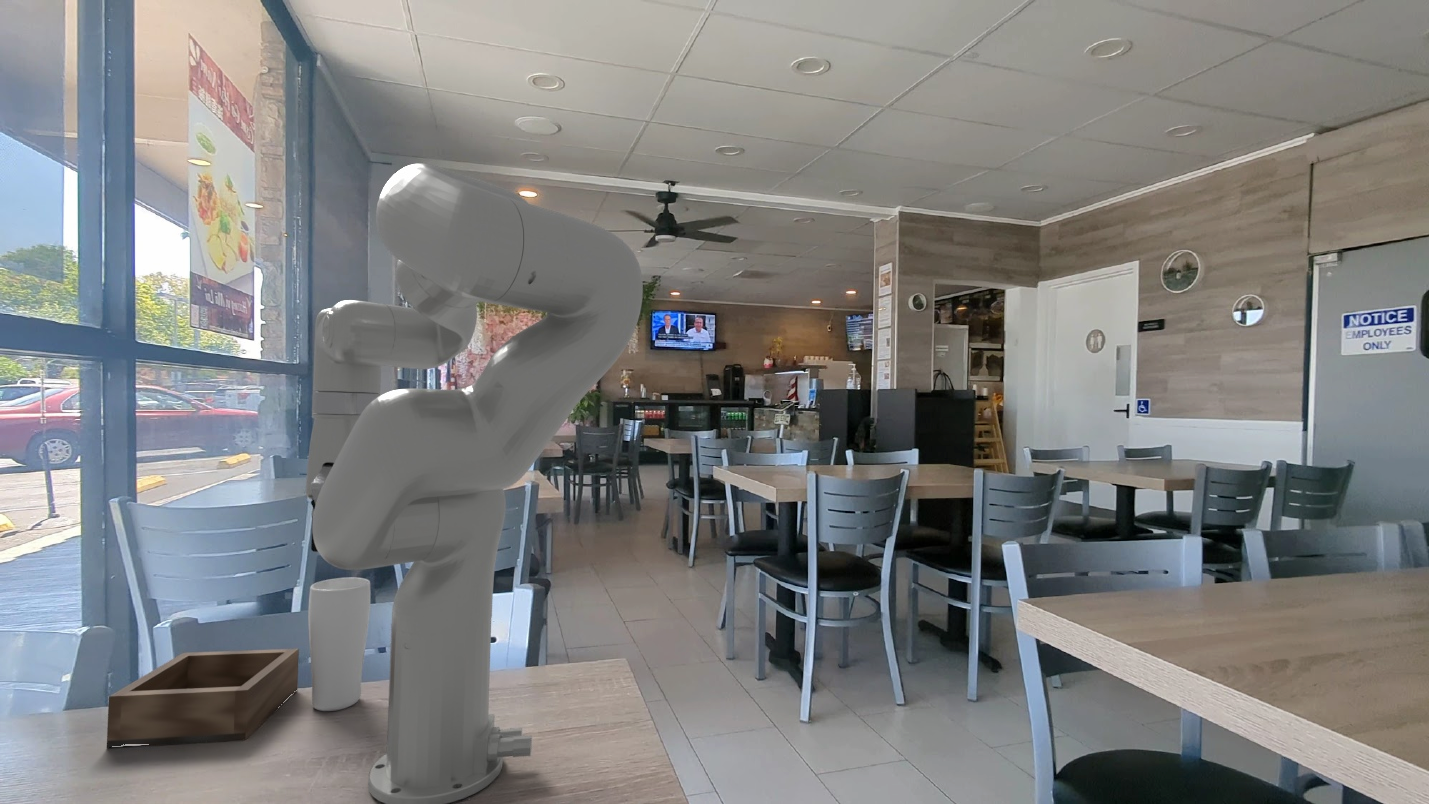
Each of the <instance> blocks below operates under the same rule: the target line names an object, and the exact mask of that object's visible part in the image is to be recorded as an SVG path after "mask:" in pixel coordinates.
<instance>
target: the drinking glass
mask: <svg viewBox="0 0 1429 804" xmlns="http://www.w3.org/2000/svg"><path fill="white" fill-rule="evenodd" d="M308 597H309V598H308V613H307V615H308V617H307V619H308V620H307V621H308V636H309V637H308V638H309V639H308V640H309V653H310V654H309V655H310V656H309V657H310V671H311V705H312V707H313V708H314V709H315V710H317V711H320V712H321V711H322V712H335V711H341V710H343V709H347V708H349V707H351V706H354V705H355V704H356V703H358V701H359V700H360V697H361V695H362V693H361V692H362V678H363V677H362V676H363V668H364V661H365V655H366V654H365V652H366V646H367V645H366V644H367V639H368V638H367V637H368V629H369V622H370V612H371V581H370V580H369V579H367V578H363V577H338V578H330V579H326V580H325V579H324V580H321V581H317V582H315V583H312V584H311V585H310V587H309V596H308Z"/></svg>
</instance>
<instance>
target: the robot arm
mask: <svg viewBox="0 0 1429 804" xmlns="http://www.w3.org/2000/svg"><path fill="white" fill-rule="evenodd" d="M375 222H376V229H377V234H378V237H379V238H380V241H381V243H382V244H383V245H384V247H385V248H386V250H388V252H389V253H391V255H392V256H393V257H394V258H396V259H397V264H396V267H395V278H396V284H397V286H398V289H399V292H400V293H401V295H402V296H403V298H404V299H405V300H406V302H407V303H408V304H409V305H410V306H411V307H408V306H400V305H395V304H389V303H378V302H377V303H376V302H370V301H365V300H363V301H362V300H355V299H354V300H353V299H349V300H341V301H339V302H337V303H335V304H334V305H333V306H332V307H330V308H326V309H322V310H321V311H320V312H319V313H318V314H317V316H316V319H315V325H314V326H315V327H314V328H315V329H314V352H313V354H314V357H313V382H312V383H313V384H312V400H311V401H312V404H311V406H312V408H311V418H312V419H314V421H313V426H312V428H311V429H312V430H311V436H310V440H309V441H310V442H309V448H308V450H309V451H308V458H307V466H306V467H307V468H306V480H305V495H306V497H307V498H308V499H309V500H311V501H310V505H311V506H312V509H311V514H310V515H311V519H312V521H311V541H310V542H311V545H310V550H311V551H312V552H315V553H316V552H318V554H319V555H320V556H321V557H322V558H323V560H324V561H326V562H327V563H328V564H329V565H331V566H333V567H336V568H337V569H341V570H347V571H359V570H367V569H368V570H369V569H375V568H384V567H390V566H395V565H400V564H401V565H402V564H409V563H412V564H411V566H410V568H409V569H408V571H407V572H406V574H405V576H404V577H403V579H402V581H401V582H400V583H399V586H398V588H397V591H396V594H395V597H394V599H393V604H392V610H391V611H392V612H391V624H390V625H391V627H390V628H391V629H390V651H389V652H390V656H389V679H388V680H389V683H388V684H389V686H388V707H387V709H388V710H387V711H388V712H387V713H388V714H387V736H386V738H387V741H386V753H385V754H384V755H383V756H382V757H380V758H379V759H378V760H377V761H376V762H375V763H374V764H373V765H371V766H372V767H371V768H370V771H369V773H368V781H367V784H368V785H367V786H368V791H369V793H370V794H371V796H372V797H373V799H376V800H377V801H378V802H381V803H382V804H450V803H451V804H452V803H455V802H456V801H460V800H464V799H466V798H468V797H470V796H473V795H475V794H477V793H478V792H480V791H481V790H483V789H485V788H486V787H488V785H490V784H491V783H492V782H494V780H495V779H496V778H498V776H499V775H500V773H501V770H502V768H503V763H504V761H503V758H506V757H508V758H509V757H512V758H519V757H520V758H521V757H523V758H524V757H531V756H532V750H533V749H532V748H533V747H532V745H533V735H532V734H531V735H523V727H514V728H512V727H511V728H507V729H501V728H500V726H495V716H496V715H495V714H494V713H493V714H492V713H491V714H489V707H490V675H491V674H490V672H491V645H492V642H491V641H492V640H491V639H492V619H493V618H492V617H493V600H494V599H493V598H494V597H493V595H494V582H495V581H494V578H495V570H496V562H497V555H498V550H499V549H498V548H499V545H500V540H501V537H502V532H503V529H504V528H503V527H504V523H505V517H506V508H507V507H506V505H507V504H506V503H507V500H506V495H505V490H504V489H507V488H510V487H512V486H514V484H516V483H518V482H519V481H520V480H521V479H522V478H523V477H524V476H525V475H526V473H527V472H528V471H529V470H530V469H531V468H532V466H533V465H534V463H535V462H536V461H537V460H538V458H539V457H540V455H541V454H542V453H543V451H544V450H545V449H546V447H548V445H549V443H550V442H551V441H552V439H553V438H554V437H555V436H556V434H557V433H558V432H559V430H560V429H561V427H562V426H563V424H564V423H565V422H566V421H567V419H568V418H569V416H570V415H571V413H572V412H573V410H574V409H575V408H576V406H577V405H578V404H579V403H580V402H581V400H582V399H583V398H584V397H585V396H586V395H587V394H588V393H589V392H590V390H592V388H593V387H594V386H595V385H596V384H597V382H599V381H600V380H601V378H603V377H604V376H605V375H606V374H607V372H608V371H609V370H610V369H611V368H612V367H613V365H615V363H616V362H617V360H618V359H619V358H620V357H621V355H622V354H623V352H624V350H625V349H626V348H627V346H628V344H629V342H630V341H631V339H632V337H633V335H634V333H635V331H636V328H637V324H638V321H639V317H640V315H641V310H642V304H643V294H644V293H643V292H644V290H643V289H644V287H643V285H644V284H643V276H642V270H641V266H640V263H639V261H638V259H637V256H636V255H635V253H634V251H633V250H632V249H631V248H630V246H629V245H628V244H627V243H626V242H625V241H624V240H622V239H621V238H620V237H619V236H617V235H616V234H615V233H613V232H611V231H610V230H609V231H608V230H607V229H605V228H603V227H602V226H600V225H598V224H594V223H591V222H589V221H586V220H584V219H581V218H577V217H574V216H572V215H568V214H565V213H561V212H558V211H554V210H550V209H547V208H543V207H540V206H536V205H534V204H530V202H528V201H527V200H525V198H523V197H522V196H520V195H519V194H517V193H515V192H514V191H512V190H510V189H507V188H504V187H502V186H500V185H497V184H494V183H492V182H488V181H484V180H482V179H478V178H475V177H472V176H469V175H466V174H463V173H459V172H456V171H453V170H450V169H448V168H443V167H440V166H437V165H433V164H429V163H413V164H409V165H407V166H404V167H403V168H401V169H399V170H398V171H397V172H396V173H394V174H393V175H392V176H391V177H390V178H389V180H388V181H387V182H386V183H385V185H384V187H383V188H382V191H381V193H380V195H379V199H378V201H377V205H376V213H375ZM480 302H481V303H484V304H485V303H487V304H493V305H498V306H505V307H511V308H517V309H522V310H528V311H535V312H541V313H546V314H545V316H544V317H543V318H542V319H540V320H539V321H537V322H534V323H533V324H531V325H530V326H528V327H526V328H525V329H522V330H520V332H518V333H517V334H515V335H513V336H512V337H510V338H509V339H508V340H507V341H506V342H505V343H504V344H502V345H501V346H500V347H499V348H498V349H497V350H496V351H495V352H494V353H493V355H492V356H491V357H490V359H489V360H488V362H487V363H486V365H485V367H484V369H483V370H482V372H481V373H480V375H479V376H478V378H477V379H476V380H475V381H474V382H473V383H472V384H471V385H469V386H466V387H463V388H456V389H444V388H443V389H442V388H441V389H440V388H400V389H394V390H390V391H387V392H384V393H383V394H381V387H382V386H381V383H382V379H381V378H382V367H389V368H390V367H391V368H402V369H411V370H412V369H413V370H430V369H435V368H439V367H441V366H443V365H445V364H447V363H448V362H449V361H451V360H452V359H454V358H456V357H457V356H458V355H460V354H461V353H463V351H465V350H466V349H467V348H468V346H469V345H470V343H471V340H472V339H473V336H474V333H475V331H476V330H475V329H476V326H477V320H478V318H477V317H478V314H477V313H478V309H477V304H478V303H480Z"/></svg>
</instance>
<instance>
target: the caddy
mask: <svg viewBox="0 0 1429 804" xmlns="http://www.w3.org/2000/svg"><path fill="white" fill-rule="evenodd" d="M299 654H300V648H280V649H279V648H278V649H276V648H275V649H253V650H251V649H250V650H226V651H223V650H221V651H198V652H195V651H194V652H193V651H192V652H181V654H179V655H177V656H175V657H174V658H172V659H170V660H168V661H167V662H165V663H163V664H162V665H160V666H157V668H155V669H153V670H151V671H150V672H148V673H146V674H145V675H143V676H142V677H140V678H138V679H136V680H135V681H133V682H131V683H130V684H128V685H125V687H122V688H121V689H119V690H118V691H116V692H114V693H112V694H110V695H109V696H108V705H107V706H108V709H107V732H106V733H107V734H106V749H109V748H108V747H112V746H121V745H123V744H124V745H125V744H149V745H155V746H167V745H168V746H169V745H170V746H171V745H185V744H188V745H189V744H203V743H218V742H221V743H222V742H223V743H224V742H236V741H237V742H238V741H247V739H249V738H250V737H251V736H252V734H254V733H255V732H256V731H257V730H258V729H259V728H260V727H261V726H262V725H264V724H265V722H266V721H267V720H269V719H270V718H271V717H272V716H273V715H272V714H273V713H274V712H275V711H276V710H277V709H278V707H279V706H281V704H283V702H284V701H285V700H286V699H287V698H288V697H289V696H290V695H291V694H293V693H294V691H296V690H297V691H298V687H299V684H298V683H299V662H300V661H299V660H300V659H299V657H300V656H299ZM283 705H284V704H283ZM281 707H282V706H281ZM278 710H279V709H278ZM278 710H277V711H278ZM277 711H276V712H277ZM276 712H275V713H276ZM275 713H274V714H275ZM271 715H272V716H271ZM270 716H271V717H270Z"/></svg>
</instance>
